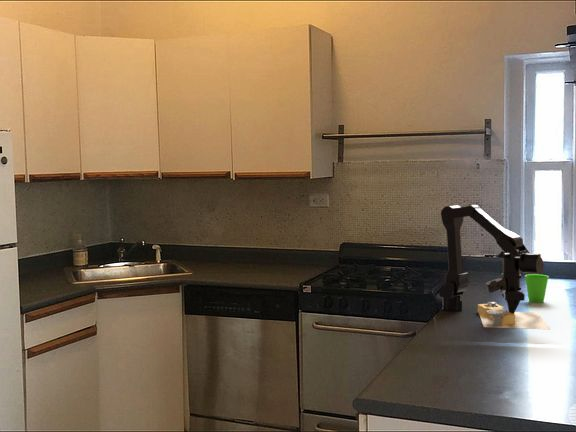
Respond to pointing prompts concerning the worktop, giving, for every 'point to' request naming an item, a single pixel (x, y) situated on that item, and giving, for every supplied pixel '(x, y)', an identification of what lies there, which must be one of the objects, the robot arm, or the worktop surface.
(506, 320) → the link
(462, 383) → the worktop surface
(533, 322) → the board
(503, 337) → the worktop surface
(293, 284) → the worktop surface
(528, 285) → the cup
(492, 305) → the pintle
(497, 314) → the keeper
